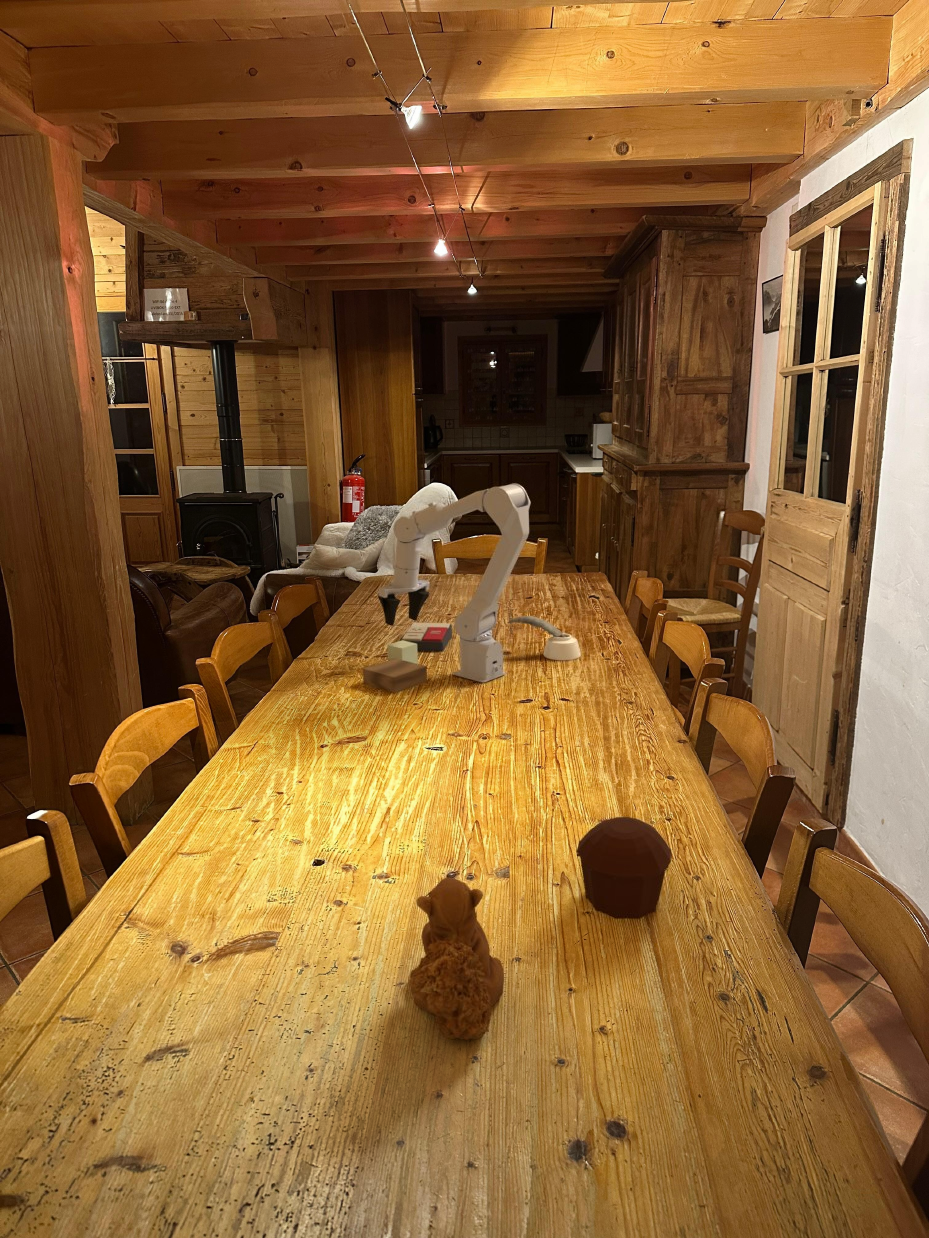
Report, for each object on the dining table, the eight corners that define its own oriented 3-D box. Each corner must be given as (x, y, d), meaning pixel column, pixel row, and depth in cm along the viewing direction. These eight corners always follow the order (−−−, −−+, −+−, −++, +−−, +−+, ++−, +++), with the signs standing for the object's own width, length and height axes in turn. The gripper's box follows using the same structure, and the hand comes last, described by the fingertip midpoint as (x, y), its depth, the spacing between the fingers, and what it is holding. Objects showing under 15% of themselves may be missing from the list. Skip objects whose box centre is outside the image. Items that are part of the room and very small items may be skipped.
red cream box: (399, 638, 210) (411, 620, 225) (400, 654, 212) (412, 635, 226) (442, 639, 209) (452, 621, 223) (443, 655, 210) (452, 636, 224)
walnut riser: (427, 683, 187) (426, 666, 186) (395, 695, 179) (394, 677, 179) (395, 674, 193) (395, 658, 192) (363, 685, 186) (362, 668, 185)
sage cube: (417, 664, 200) (417, 643, 199) (402, 668, 197) (401, 648, 195) (403, 660, 203) (402, 640, 202) (388, 664, 200) (387, 644, 199)
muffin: (607, 864, 111) (609, 795, 109) (685, 893, 104) (689, 820, 102) (558, 904, 102) (559, 830, 100) (639, 939, 96) (643, 860, 93)
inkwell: (583, 660, 201) (584, 620, 198) (508, 661, 201) (508, 621, 198) (578, 649, 210) (578, 611, 207) (506, 651, 209) (506, 612, 207)
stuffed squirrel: (502, 964, 92) (501, 856, 89) (513, 1061, 78) (513, 937, 75) (411, 966, 92) (407, 858, 88) (406, 1065, 78) (401, 941, 75)
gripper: (417, 558, 202) (411, 612, 206) (371, 565, 191) (367, 621, 195) (438, 566, 197) (431, 620, 201) (393, 573, 187) (387, 630, 191)
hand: (401, 621), depth 198 cm, fingers open, 7 cm apart
